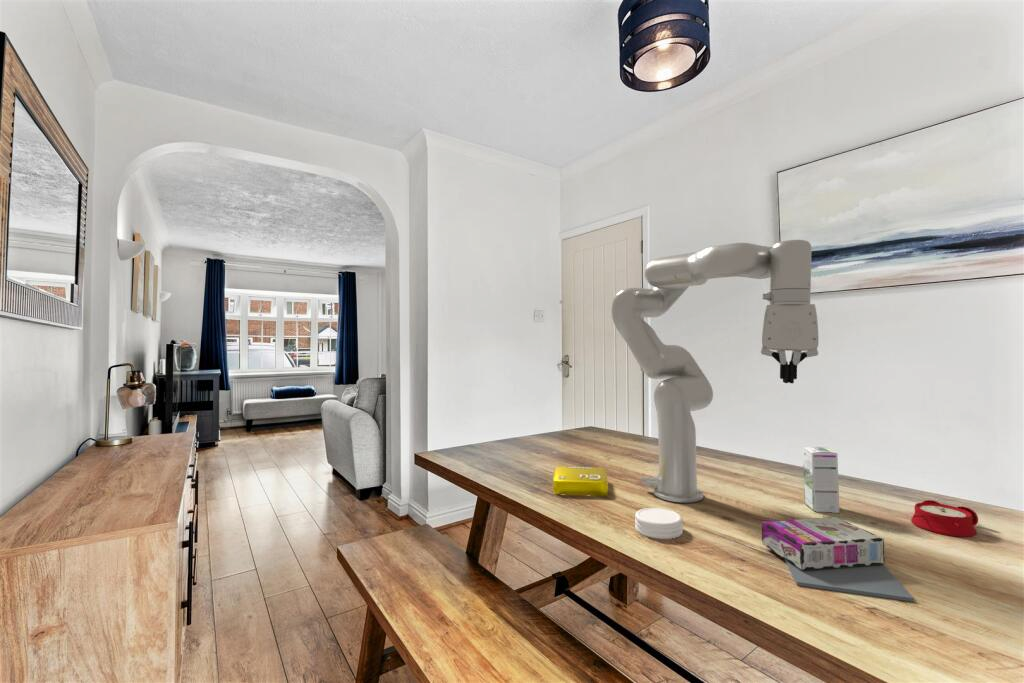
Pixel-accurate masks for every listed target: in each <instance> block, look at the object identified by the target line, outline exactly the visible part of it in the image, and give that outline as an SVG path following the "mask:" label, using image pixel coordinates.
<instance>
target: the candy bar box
mask: <svg viewBox="0 0 1024 683" xmlns="http://www.w3.org/2000/svg"><path fill="white" fill-rule="evenodd" d="M761 543H762V545H763V546H764V547H766V548H768V550H771V551H772V552H773V553H775V554H777V555H778V556H779V557H781V558H783V559H784V560H785V559H786V560H787V561H789V562H790V563H792V564H793V565H795V566H796V567H798V568H799V569H801V570H811V569H824V568H839V567H853V566H868V565H881V564H883V565H885V563H886V562H885V561H886V556H885V539H884V538H883V537H881V536H879V535H878V534H877V535H876V533H875V534H874V533H873V532H870V531H868V530H866V529H863V528H861V527H859V526H857V525H854V524H852V523H850V522H847V521H845V520H843V519H841V518H839V517H837V516H832V517H817V518H816V517H815V518H800V519H797V518H796V519H783V520H767V521H764V520H762V521H761Z"/></svg>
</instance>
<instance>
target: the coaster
mask: <svg viewBox="0 0 1024 683" xmlns="http://www.w3.org/2000/svg"><path fill="white" fill-rule="evenodd" d="M634 518H635V519H634V522H635V527H634V528H635V530H636V531H637V532H638V533H639V534H641V535H643V536H644V537H648V538H651V539H657V540H672V538H673V539H676V537H677V538H679V537H681V536H682V534H683V532H684V530H683V526H684V525H683V521H684V520H683V517H682V516H681V515H680V514H679V513H677V512H676V511H673V510H671V509H668V508H662V507H661V508H660V507H645V508H642V509H639V510H637V511H636V512H635V515H634Z"/></svg>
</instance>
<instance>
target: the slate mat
mask: <svg viewBox="0 0 1024 683" xmlns="http://www.w3.org/2000/svg"><path fill="white" fill-rule="evenodd" d="M784 562H785V563H786V566H787V568H788V570H789V572H790V574H791V576H792V578H793V581H794V582H795V585H796V586H798V587H799V586H800V587H805V588H806V587H807V588H812V589H821V590H827V591H834V592H840V593H841V592H842V593H848V594H853V595H854V594H855V595H863V596H868V597H869V596H870V597H877V598H881V599H882V598H884V599H891V600H898V601H903V602H904V601H905V602H911V603H914V601H915V598H914V597H913V596H912V594H911V593H910V592H909V591H908V590H907V589H906V588H905V587H904V586H903V584H901V582H900V581H899V580H898V579H897V578H896V577H895V576H894V575H893V574H892V572H891V571H890V570H889V569H888V568H887V567H886V566H885V564H881V565H868V566H853V567H839V568H824V569H811V570H801V569H799V568H798V567H796V566H795V565H793V564H792V563H790V562H789V561H787V560H786V559H784Z"/></svg>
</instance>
